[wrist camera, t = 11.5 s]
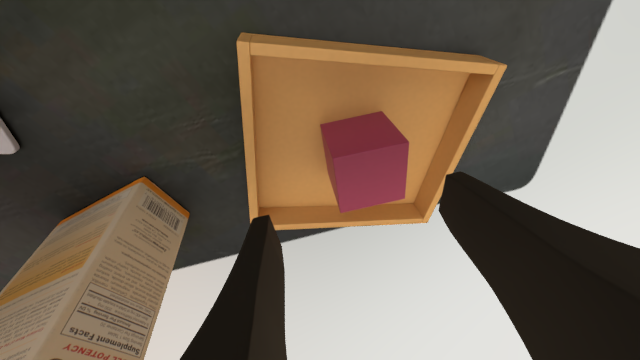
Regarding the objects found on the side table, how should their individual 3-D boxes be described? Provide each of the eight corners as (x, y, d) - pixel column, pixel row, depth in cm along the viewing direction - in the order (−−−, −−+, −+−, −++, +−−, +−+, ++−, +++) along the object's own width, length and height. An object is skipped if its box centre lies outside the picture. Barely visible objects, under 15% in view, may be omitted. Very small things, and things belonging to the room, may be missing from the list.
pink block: (328, 174, 20) (340, 213, 17) (319, 123, 18) (332, 158, 14) (382, 162, 20) (405, 198, 17) (382, 110, 18) (409, 141, 14)
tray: (252, 208, 22) (250, 231, 20) (240, 32, 14) (236, 40, 12) (414, 203, 25) (427, 223, 23) (479, 55, 17) (508, 65, 15)
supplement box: (116, 251, 22) (-10, 477, 12) (59, 218, 19) (-170, 482, 9) (194, 213, 21) (128, 428, 11) (146, 172, 18) (-5, 415, 8)
